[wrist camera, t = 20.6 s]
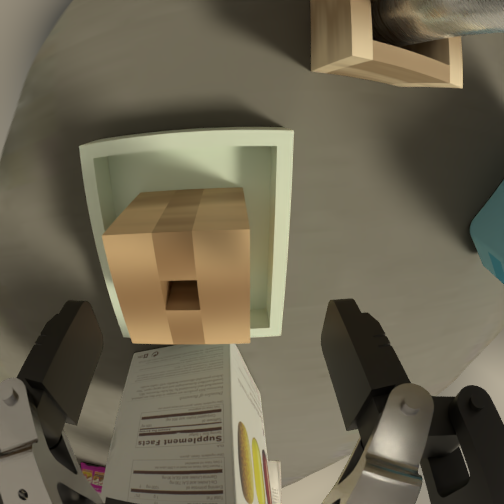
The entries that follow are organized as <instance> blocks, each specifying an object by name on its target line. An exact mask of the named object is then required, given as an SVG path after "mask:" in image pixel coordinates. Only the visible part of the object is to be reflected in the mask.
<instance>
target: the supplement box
mask: <svg viewBox="0 0 504 504" xmlns="http://www.w3.org/2000/svg"><path fill="white" fill-rule="evenodd" d="M106 497H109V498H113V499H117V500H122V501H126V502H131V503H137V504H273V499H272V491H271V482H270V474H269V465H268V457H267V449H266V440H265V431H264V422H263V414H262V405H261V397H260V392H259V390H258V389H257V387H256V385H255V382H254V380H253V378H252V377H251V375H250V373H249V371H248V369H247V367H246V365H245V362H244V360H243V358H242V356H241V354H240V352H239V350H238V348H237V346H236V344H178V345H173V346H168V347H163V348H158V349H153V350H147V351H142V352H137V353H134V355H133V358H132V361H131V365H130V368H129V372H128V376H127V379H126V383H125V386H124V390H123V394H122V397H121V401H120V406H119V409H118V413H117V417H116V422H115V427H114V431H113V436H112V440H111V444H110V449H109V453H108V458H107V463H106V469H105V474H104V480H103V485H102V491H101V497H100V498H101V499H102V501H103V503H105V500H106Z"/></svg>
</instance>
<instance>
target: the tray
mask: <svg viewBox="0 0 504 504" xmlns="http://www.w3.org/2000/svg"><path fill="white" fill-rule="evenodd" d="M293 139H294V131H293V130H290V129H288V128H285V127H215V128H195V129H180V130H168V131H158V132H148V133H140V134H132V135H124V136H117V137H111V138H105V139H99V140H95V141H92V142H89V143H86V144H83V145H80V146H79V150H80V159H81V167H82V174H83V181H84V188H85V194H86V200H87V205H88V211H89V216H90V221H91V226H92V231H93V235H94V239H95V244H96V248H97V252H98V256H99V260H100V264H101V268H102V271H103V275H104V279H105V282H106V286H107V289H108V292H109V296H110V299H111V302H112V305H113V308H114V311H115V314H116V317H117V320H118V323H119V326H120V329H121V332H122V334H123V337H127V338H131V337H130V335H129V332H128V329H127V326H126V323H125V320H124V317H123V314H122V311H121V307H120V304H119V301H118V297H117V294H116V291H115V287H114V284H113V280H112V276H111V273H110V269H109V265H108V261H107V257H106V253H105V248H104V244H103V240H102V235H103V233H104V232H105V231H106V230H107V229H108V228H109V226H110V225H111V224H112V223H113V222H114V221H115V220H116V218H117V217H118V216H119V215H120V214H121V213H122V212H123V211H124V210H125V208H126V207H127V206H128V205H129V204H130V203H131V202H132V201H133V200H134V199H135V198H136V197H137V196H138V195H139V193H141V192H154V191H169V190H185V189H206V188H235V187H243V191H244V197H245V203H246V209H247V215H248V220H249V226H250V337H267V336H281V329H282V318H283V306H284V294H285V282H286V269H287V255H288V240H289V224H290V207H291V188H292V166H293Z"/></svg>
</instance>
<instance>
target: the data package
mask: <svg viewBox="0 0 504 504" xmlns="http://www.w3.org/2000/svg"><path fill="white" fill-rule="evenodd" d="M470 235H471V237H472V240H473V242H474V244H475V247H476V249H477V251H478V254H479V256H480V259H481V261H482V264H483V265H484V267H485V268H487V269H488V270H489V271H490V272H491V273H492V274H493V275H494V276H496V277H497V278H498V279H499V280H500V281H501V282H502V283H503V284H504V180H503V181H502V183H501V184H500V185H499V187H498V188H497V189H496V191H495V192H494V193H493V195H492V196H491V197H490V199H489V200H488V201H487V203H486V204H485V205H484V206H483V208H482V209H481V210H480V211H479V213H478V214H477V215H476V216H475V218H474V219H473V220H472V222H471V225H470Z"/></svg>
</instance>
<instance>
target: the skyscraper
mask: <svg viewBox="0 0 504 504" xmlns="http://www.w3.org/2000/svg"><path fill="white" fill-rule="evenodd" d="M268 465H269V474H270V482H271V491H272V499H273V504H282V502H281V464H280V461H268Z"/></svg>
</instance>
